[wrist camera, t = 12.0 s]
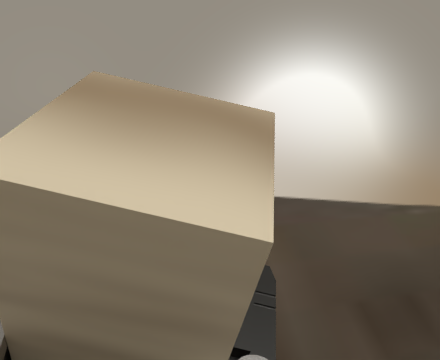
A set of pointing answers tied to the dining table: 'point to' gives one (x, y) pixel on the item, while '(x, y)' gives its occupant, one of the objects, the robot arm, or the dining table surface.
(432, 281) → the dining table surface
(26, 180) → the tall wooden post
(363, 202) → the dining table surface
